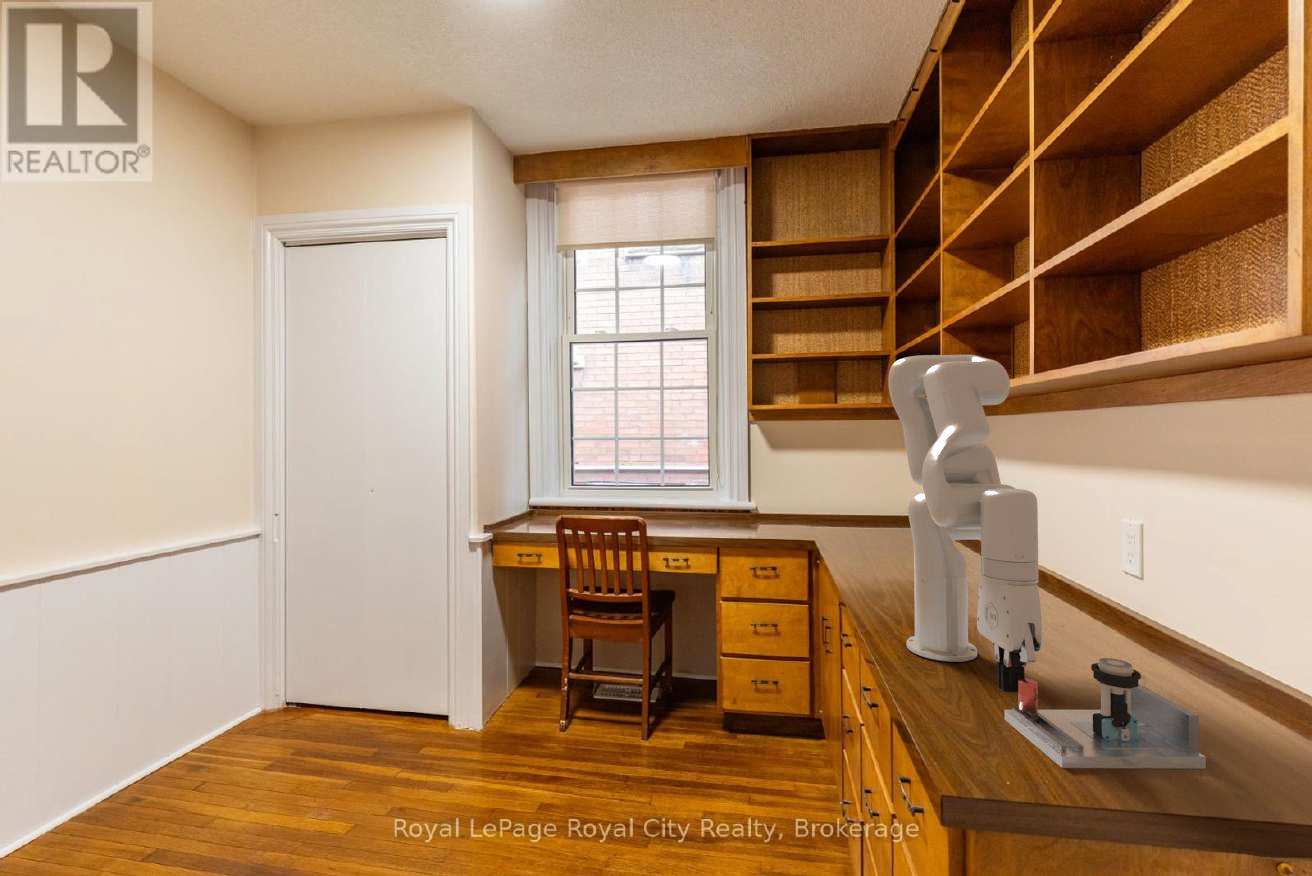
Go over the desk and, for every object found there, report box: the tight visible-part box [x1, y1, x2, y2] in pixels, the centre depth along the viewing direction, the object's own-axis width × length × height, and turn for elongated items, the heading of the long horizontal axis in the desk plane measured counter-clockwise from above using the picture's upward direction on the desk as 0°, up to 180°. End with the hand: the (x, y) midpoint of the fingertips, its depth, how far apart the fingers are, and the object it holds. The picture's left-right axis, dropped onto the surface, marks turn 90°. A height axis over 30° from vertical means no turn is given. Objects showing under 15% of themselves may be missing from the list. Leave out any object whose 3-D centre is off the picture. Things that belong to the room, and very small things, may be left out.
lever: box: [1017, 677, 1039, 720], centre depth 86 cm, size 3×2×5 cm
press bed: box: [1004, 684, 1207, 770], centre depth 82 cm, size 13×18×6 cm
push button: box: [1090, 657, 1145, 741], centre depth 80 cm, size 7×5×10 cm
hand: (1010, 689), depth 90 cm, fingers closed
